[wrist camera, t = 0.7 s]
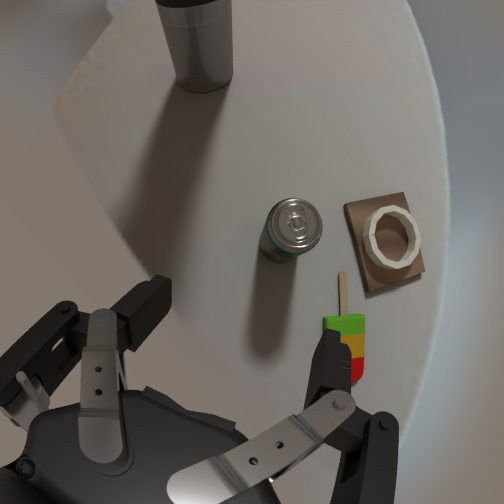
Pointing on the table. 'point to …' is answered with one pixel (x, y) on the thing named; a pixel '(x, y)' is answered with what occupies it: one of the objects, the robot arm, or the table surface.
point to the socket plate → (385, 239)
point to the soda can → (290, 230)
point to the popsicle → (349, 330)
